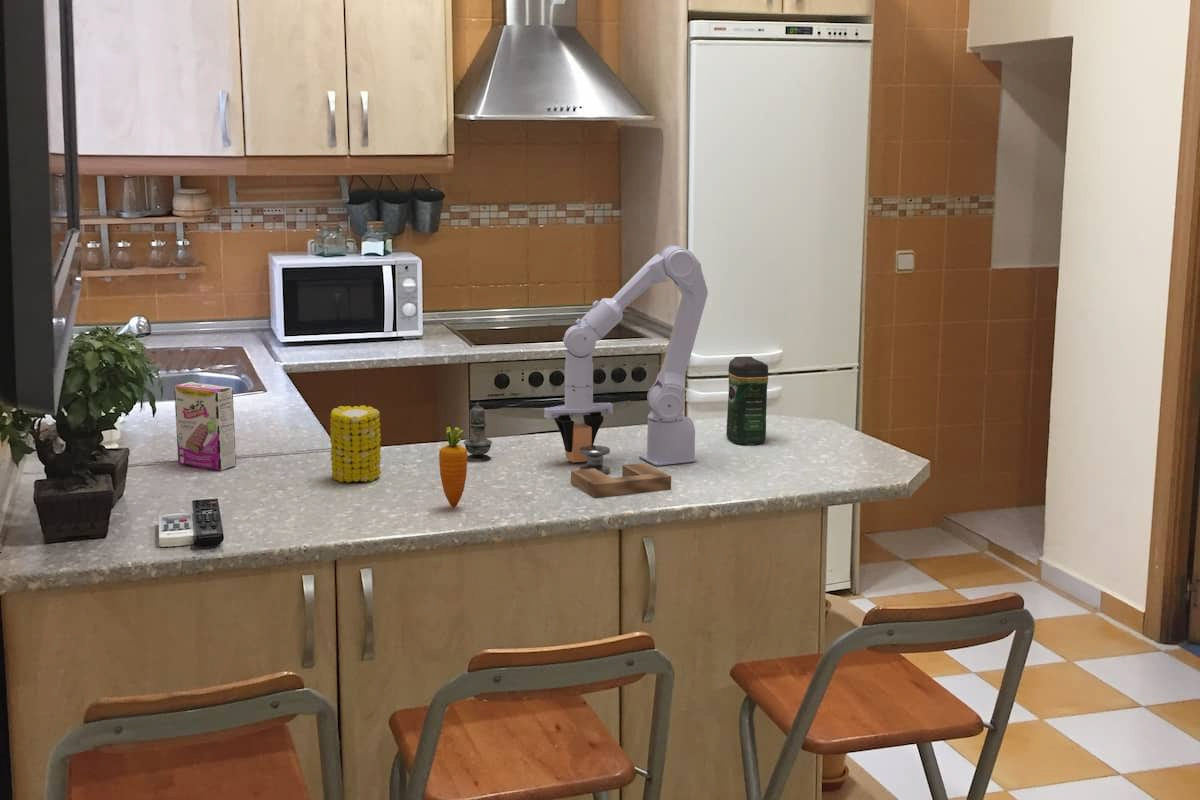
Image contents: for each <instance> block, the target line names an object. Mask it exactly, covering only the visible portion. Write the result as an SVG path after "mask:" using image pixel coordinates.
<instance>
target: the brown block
mask: <svg viewBox="0 0 1200 800" xmlns="http://www.w3.org/2000/svg"><path fill="white" fill-rule="evenodd" d="M591 445H592V427H590V426H588V425H586V424H584V422H582V423H581V422H580V423H574V426H573V433H572V452H567V451H565V459H567V460H568V461H571V462H572V463H581V462H587V455H585V454H581V453H580V448H581V447H584V446H591Z"/></svg>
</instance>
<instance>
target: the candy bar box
mask: <svg viewBox="0 0 1200 800" xmlns="http://www.w3.org/2000/svg"><path fill="white" fill-rule="evenodd" d="M173 392H174V408H175V409H174V410H175V424H176V428H175V429H176V441H177V461H178V462H177V464H178V465H179V466H186V467H191V468H199V469H204V470H205V469H206V470H210V471H211V470H212V471H218V472H223V471H226V470H229V469H231V468H234V467H237V456H236V455H237V453H236V452H237V451H236V441H235V440H236V434H235V412H234V390H233V386H232V387H231V386H225V385H217V384H210V383H209V384H208V383H203V382H202V383H201V382H195V381H188V382H184V383H180V384H179V383H178V384H175V385H174V387H173Z"/></svg>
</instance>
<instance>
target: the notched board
mask: <svg viewBox="0 0 1200 800" xmlns="http://www.w3.org/2000/svg"><path fill="white" fill-rule="evenodd" d="M621 472H622V473H621V476H620V477H611V476H608V475H607V474H604V473H602V472H600V471H598V470H597V469H595V468H593V469H583V470H580V469H576V470H571V471H570V484H571V485H573V486H575V487H576V488H578V489H580V490H581V491H583V492H584V493H586V494H587V495H589V496H590V497H592V498H596V499H597V498H605V497H606V498H607V497H613V496H622V495H631V494H638V493H649V492H657V491H665V490H672V476H671V475H670V474H668V473H665V472H664V471H662V470H660V469H658V468H656V467H654V466H652V465H650V464H648V463H647V462H642V463H641V462H640V463H632V464H623V465H622V468H621Z"/></svg>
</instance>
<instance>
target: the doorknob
mask: <svg viewBox="0 0 1200 800" xmlns="http://www.w3.org/2000/svg"><path fill="white" fill-rule="evenodd" d="M580 453H581V454H585V455H587V461H586V464H585V465H582V466H580V467H579V470H583V469H593V468H595V469H597V470H598V471H600V472H602V473H604V474H606V475H607V474H609V473H610V471H611V470H610V466H606V465H603V464H604V463H603V462H604V461H603V460H604V458H603V457H604V455H605V456H606V455H608V454H610V453H611V449H610V447H608V446H604V445H597V444H596V445H595V444H593V445H591V446H584V447H581V448H580Z"/></svg>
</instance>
